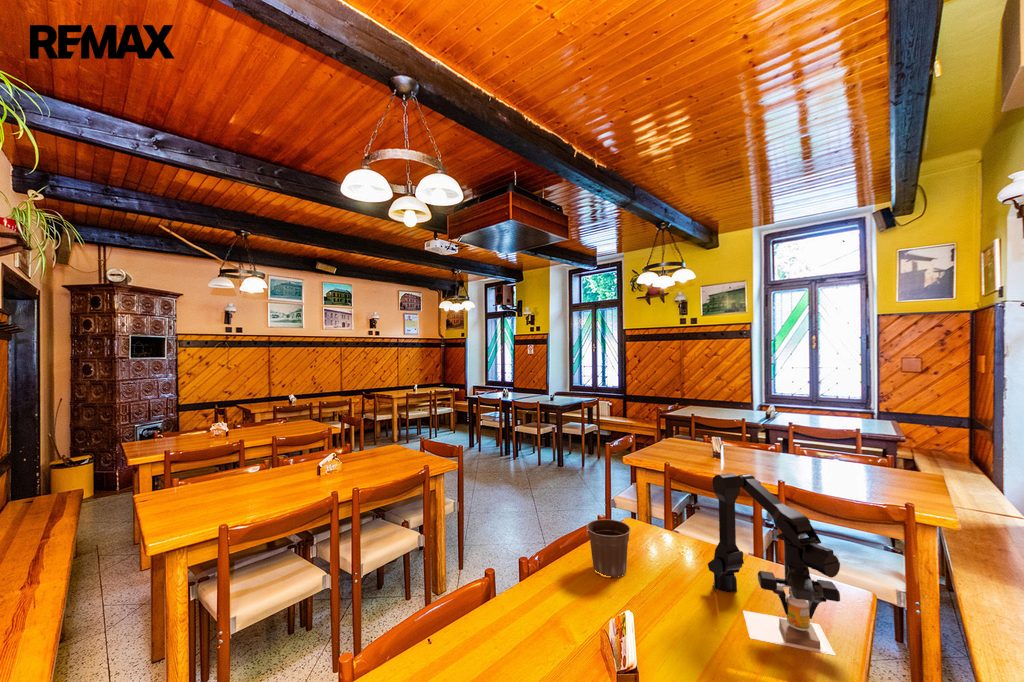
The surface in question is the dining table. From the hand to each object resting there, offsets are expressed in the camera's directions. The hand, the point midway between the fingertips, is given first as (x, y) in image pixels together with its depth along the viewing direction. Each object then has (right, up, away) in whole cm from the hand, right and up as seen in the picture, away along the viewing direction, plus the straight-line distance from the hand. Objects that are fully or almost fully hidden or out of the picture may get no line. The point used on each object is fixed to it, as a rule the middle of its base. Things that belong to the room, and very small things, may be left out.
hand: (798, 616), depth 120 cm
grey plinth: (0, -6, 0) cm, 6 cm away
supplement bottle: (0, -3, 0) cm, 3 cm away
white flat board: (-2, -7, +2) cm, 7 cm away
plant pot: (-44, -9, +40) cm, 60 cm away
